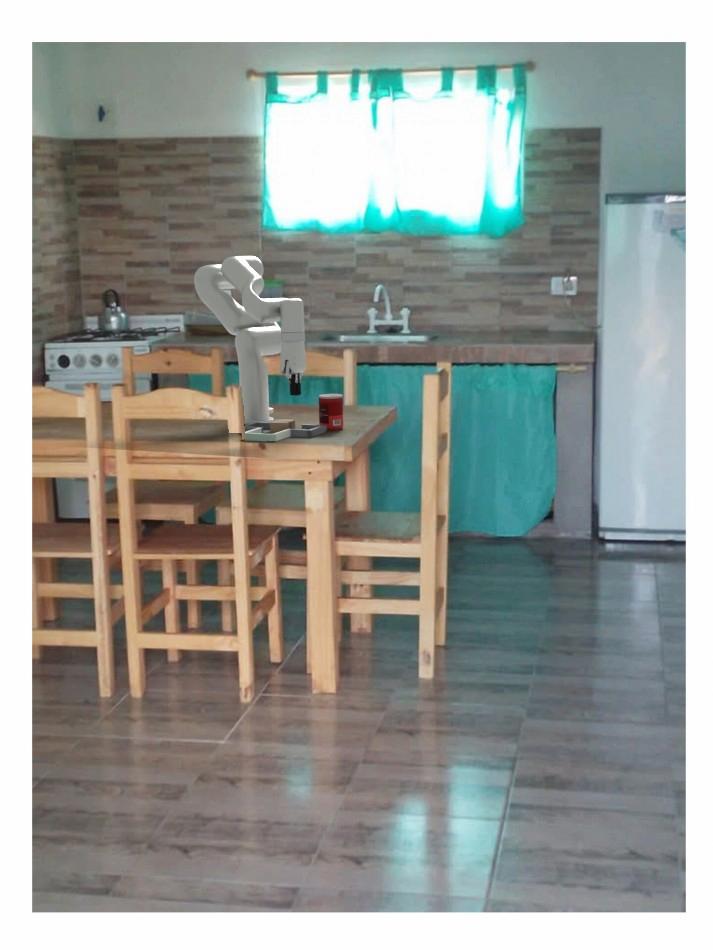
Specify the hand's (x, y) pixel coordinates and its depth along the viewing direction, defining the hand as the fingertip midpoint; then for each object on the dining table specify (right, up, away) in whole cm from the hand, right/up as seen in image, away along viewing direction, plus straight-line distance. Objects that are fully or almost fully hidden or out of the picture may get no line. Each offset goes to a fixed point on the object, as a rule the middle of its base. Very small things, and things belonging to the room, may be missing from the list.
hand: (295, 395), depth 401 cm
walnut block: (-4, -13, -5) cm, 14 cm away
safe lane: (-8, -14, -15) cm, 22 cm away
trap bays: (-4, -12, -5) cm, 14 cm away
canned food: (+11, -11, +1) cm, 16 cm away
